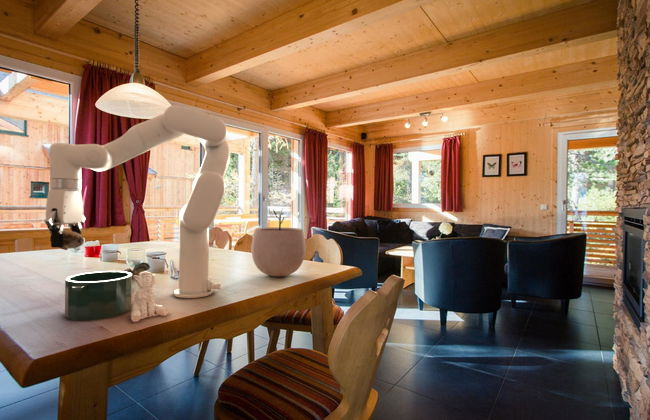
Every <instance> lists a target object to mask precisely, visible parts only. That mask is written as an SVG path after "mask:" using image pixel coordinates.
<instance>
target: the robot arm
mask: <svg viewBox="0 0 650 420" xmlns="http://www.w3.org/2000/svg"><path fill="white" fill-rule="evenodd" d="M184 135H187V136H190V137H194V138H198V141H199V142H200V143H201V145H202V146H203V148H204V157H203V160H202V163H201V166H200V168H199V170H198V173H197V175H196V177H195V179H194V180H193V182H192V191H191V193H190V196H189V199H188V201H187V203H186V204H184V206H183V207H182V208H181V209H180V211H179V215H178V222H179V223H178V228H179V229H178V230H179V248H178V249H179V250H178V251H179V255H178V269H179V270H178V288H177V289H175V290H174V291H173V296H174V297H176V298H180V299H197V298H204V297H207V296H210V295H212V294H213V293H214V290H221V287H222V286H221V285H222V284H221V283H219V282H212V279H211V278H209V266H210V265H209V261H210V260H209V257H210V227H211V226H212V224H213V223H214V221H215V219H216V216H217V214H218V212H219V209H220V206H221V203H222V201H223V199H224V196H225V192H226V187H227V186H226V181H225V176H226V174H227V171H228V168H229V164H230V161H231V151H230V147H229V144H228V142H227V140H226V138H227V136H228V126H227V124H226V123H225V122H224V121H223V119H222V118H219V117H217V116H215V115H212V114H209V113H205V112H202V111H200V110H196V109H193V108H190V107H187V106H183V105H179V104H174V105H169V106H168V107H167V108H166V109H165V110H164V113H162V114H159V115H157V116H155V117H152V118H149V119H147V120H145V121H142V122H140V123H137V124H135V125H133V126H132V127H130V128H129V129H128V130H127V131H126V132H125V133H124V134H123V135H121V136H119V137H118V138H116V139H114V140H112V141H110V142H108V143H106V144H103V145H102V144H97V143H84V144H73V143H67V142H55V143H52V144H51V145H50V146H49V190H48V193H47V197H46V206H45V219H44V224H45V225H46V226H47V229H48V232H49V234H50V237H51V241H50V247H51V248H59V247H64V233H62V231H63V230H64V228H65V226H66V225H68V226H69V228H70V231H73V232H76V233H79V234H80V235H81V236H82V231H83V226H84V223H85V221H86V216H85V215H84V202H83V196H82V188H83V187H82V186H83V185H82V183H83V182H82V181H83V179H82V168H83V169H90V170H93V171H95V172H105V171H107V170H110V169H113V168H115V167H117V166H119V165H122V164H123V163H126V162H128V161H130V160H132V159H134V158H136V157H138V156H140V155H142V154H144V153H147V152H148V151H151V150H153V149H155V148H157V147H159V146H161V145H164V144H166V143H168V142H170V141H173V140H175V139H178V138H180V137H182V136H184Z"/></svg>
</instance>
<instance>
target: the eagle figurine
mask: <svg viewBox="0 0 650 420" xmlns="http://www.w3.org/2000/svg"><path fill="white" fill-rule="evenodd" d="M150 268H151V266H150V264H149V263H148V262H141V263H138V264H135V265H134V267H133V269H132V268H130V267H127V268H126V269H124V270H123V272H129V273H132V281H134V280H135V279H134V277H133V275H137V276H139V275H140V274H141V273H143V272H148V271H149V270H150Z"/></svg>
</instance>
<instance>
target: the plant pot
mask: <svg viewBox="0 0 650 420" xmlns="http://www.w3.org/2000/svg"><path fill="white" fill-rule="evenodd" d="M283 209H284V208H281V211H280V214H279V215H277V212H276V211H275V210H274V209H272V211H273V213H274V215H275V219H276V220H277V219H278V226H277V227H273V226H272V227H271V226H270V227H269V226H268V227H256V228H254V232H253V235H252V241H251V256H252V260H253V263H254V265H255V267H256V268H257V269H258V270H259V272H261V273H263V274H265V275H266V276H270V277H280V278H281V277H287V276H290V275H291V274H294V273H295V272H297V271H298V270H299V268H300V267H301V266H302V264H303V263H304V260H305V256H306V252H307V244H306V237H305V233H304V229H303V228H299V227H298V228H297V227H282V224H283V221H284V220H285V216H283V215H284V212H283ZM282 216H283V217H282Z"/></svg>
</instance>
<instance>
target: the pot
mask: <svg viewBox="0 0 650 420" xmlns="http://www.w3.org/2000/svg"><path fill="white" fill-rule="evenodd" d="M64 283H65V284H64V316H65V318H66V319H68V320H72V321H95V320H104V319H110V318H114V317H119V316H122V315H124V314H126V313H128V312H130V311H132V310H131V308H132V305H133V302H132V298H133V296H132V295H133V294H132V293H133V280H132V273H129V272H124V271H122V270H117V271H116V270H106V271H105V270H104V271H92V272H84V273H79V274H74V275H70V276H68V277H66V278H65V281H64Z"/></svg>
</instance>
